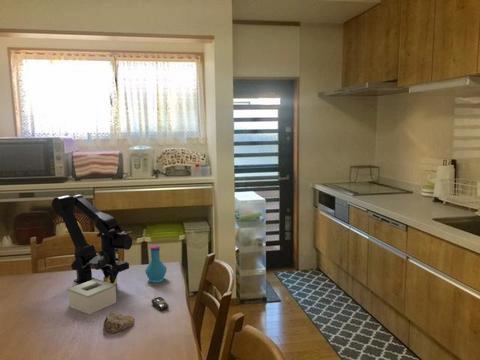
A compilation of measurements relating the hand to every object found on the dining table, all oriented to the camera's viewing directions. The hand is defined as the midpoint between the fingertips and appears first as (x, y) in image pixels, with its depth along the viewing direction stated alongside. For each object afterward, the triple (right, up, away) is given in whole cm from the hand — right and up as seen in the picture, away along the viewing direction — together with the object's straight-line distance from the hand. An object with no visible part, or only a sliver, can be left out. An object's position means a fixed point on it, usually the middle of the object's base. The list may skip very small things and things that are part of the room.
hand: (110, 282), depth 170 cm
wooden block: (0, -1, 0) cm, 1 cm away
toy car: (+24, -4, -20) cm, 31 cm away
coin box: (-1, -3, -19) cm, 19 cm away
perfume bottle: (+18, 0, +6) cm, 19 cm away
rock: (+14, -6, -36) cm, 39 cm away
